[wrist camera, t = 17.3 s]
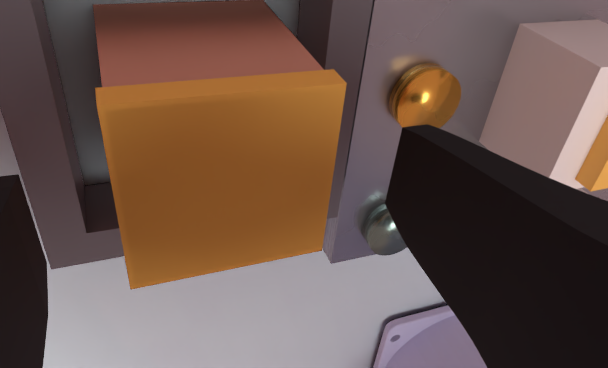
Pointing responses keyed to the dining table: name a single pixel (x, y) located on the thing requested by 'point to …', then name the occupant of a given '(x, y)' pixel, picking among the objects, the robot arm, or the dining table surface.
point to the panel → (426, 96)
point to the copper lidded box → (213, 136)
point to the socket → (60, 142)
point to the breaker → (555, 103)
